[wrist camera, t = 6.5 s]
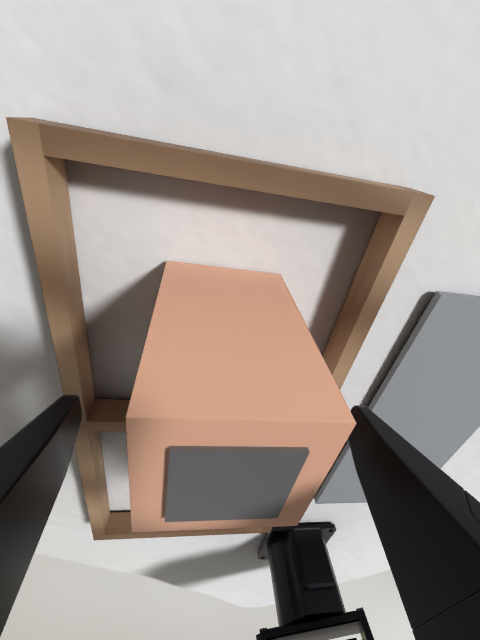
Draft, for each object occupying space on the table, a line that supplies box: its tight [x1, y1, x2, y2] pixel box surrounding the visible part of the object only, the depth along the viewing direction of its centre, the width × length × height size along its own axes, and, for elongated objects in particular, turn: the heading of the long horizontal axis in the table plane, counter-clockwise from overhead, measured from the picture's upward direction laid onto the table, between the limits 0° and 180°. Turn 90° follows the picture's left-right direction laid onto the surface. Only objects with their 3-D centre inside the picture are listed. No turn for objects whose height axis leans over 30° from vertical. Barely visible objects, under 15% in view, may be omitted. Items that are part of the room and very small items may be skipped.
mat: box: [315, 291, 480, 504], centre depth 21 cm, size 20×9×1 cm, turn 170°
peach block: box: [126, 261, 356, 532], centre depth 11 cm, size 5×5×8 cm
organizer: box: [6, 117, 435, 540], centre depth 17 cm, size 26×14×2 cm, turn 170°
